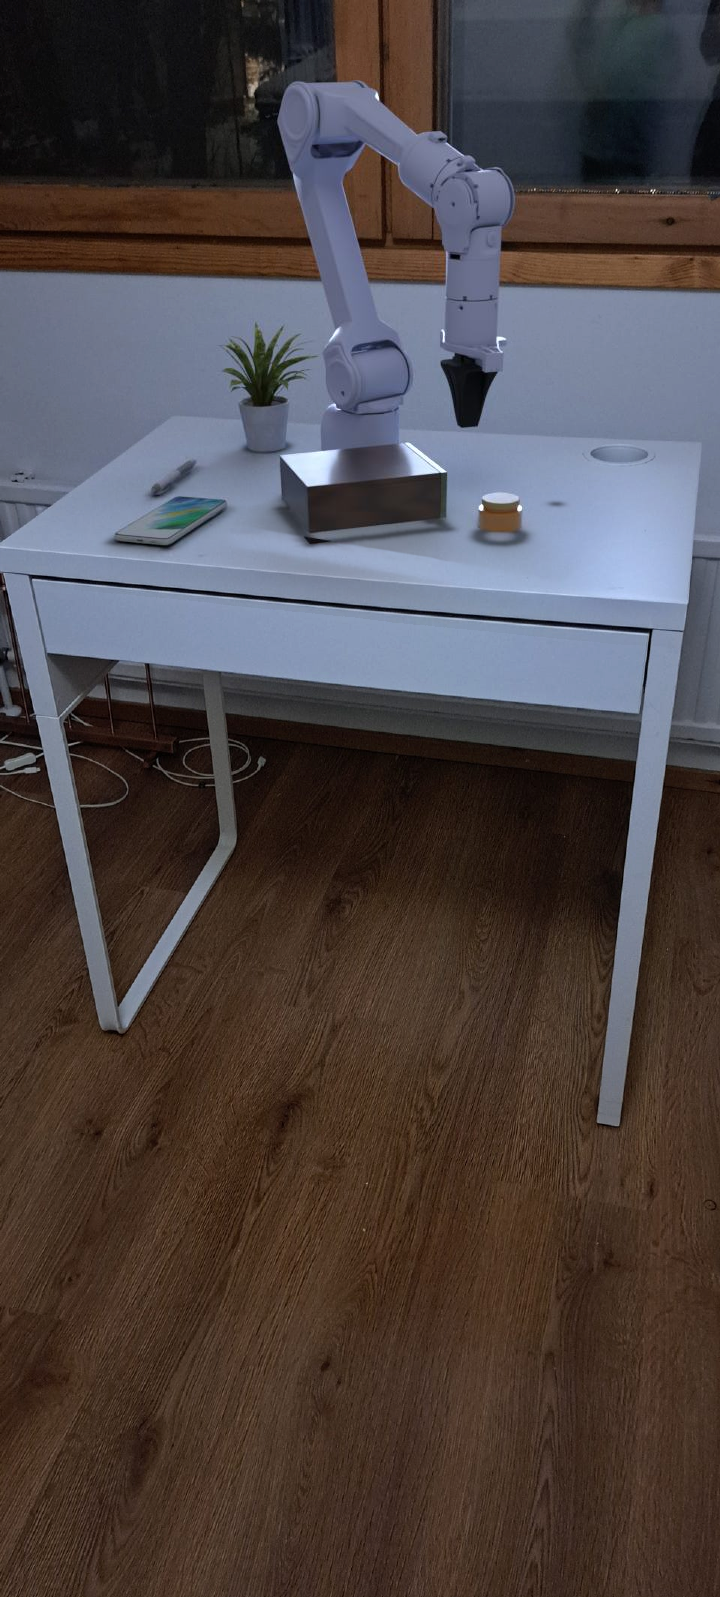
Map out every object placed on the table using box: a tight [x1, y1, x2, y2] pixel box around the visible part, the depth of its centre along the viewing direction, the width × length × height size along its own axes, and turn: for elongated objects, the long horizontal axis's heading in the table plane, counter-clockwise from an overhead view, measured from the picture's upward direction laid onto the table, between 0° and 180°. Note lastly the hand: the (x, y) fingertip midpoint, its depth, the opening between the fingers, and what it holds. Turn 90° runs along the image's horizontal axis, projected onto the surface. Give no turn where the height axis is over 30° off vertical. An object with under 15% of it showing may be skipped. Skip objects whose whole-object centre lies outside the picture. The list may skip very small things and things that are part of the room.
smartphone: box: [113, 496, 228, 546], centre depth 134 cm, size 7×1×15 cm
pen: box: [150, 458, 197, 495], centre depth 148 cm, size 1×14×1 cm, turn 164°
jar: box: [477, 492, 523, 533], centre depth 127 cm, size 5×5×4 cm
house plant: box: [219, 322, 319, 453], centre depth 157 cm, size 14×14×16 cm
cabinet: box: [279, 442, 441, 545], centre depth 133 cm, size 15×13×6 cm
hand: (467, 425), depth 132 cm, fingers closed
